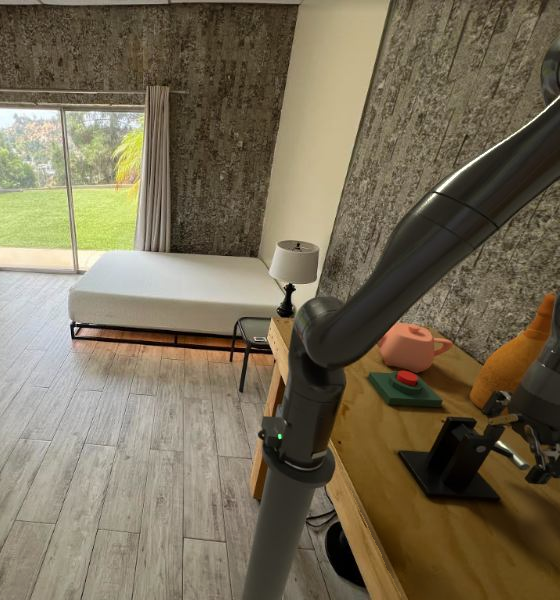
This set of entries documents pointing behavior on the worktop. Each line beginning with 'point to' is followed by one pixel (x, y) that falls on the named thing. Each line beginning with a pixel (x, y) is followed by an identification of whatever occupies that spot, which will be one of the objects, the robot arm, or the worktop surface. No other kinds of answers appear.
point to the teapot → (410, 347)
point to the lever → (494, 447)
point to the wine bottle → (514, 357)
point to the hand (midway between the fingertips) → (509, 459)
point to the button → (407, 378)
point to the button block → (403, 391)
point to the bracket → (453, 464)
